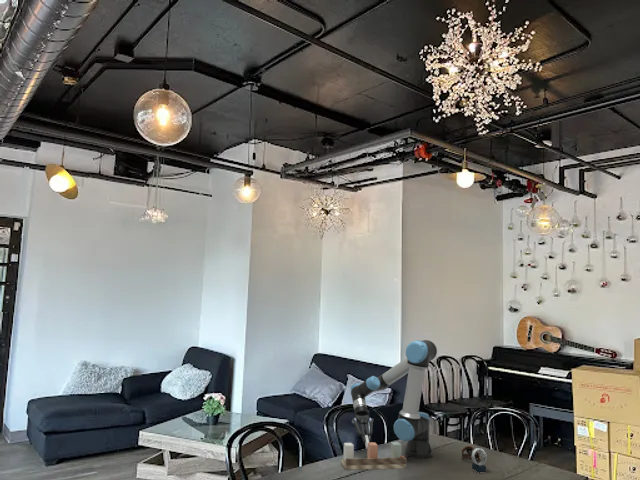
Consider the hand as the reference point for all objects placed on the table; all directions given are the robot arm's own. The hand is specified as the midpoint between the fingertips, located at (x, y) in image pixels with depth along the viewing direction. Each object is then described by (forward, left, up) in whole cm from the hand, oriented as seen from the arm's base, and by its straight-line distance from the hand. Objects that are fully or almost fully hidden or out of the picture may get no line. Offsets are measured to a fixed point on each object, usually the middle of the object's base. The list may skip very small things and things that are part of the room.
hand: (368, 447), depth 254 cm
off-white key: (+13, +8, -4) cm, 15 cm away
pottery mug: (-58, +3, -7) cm, 59 cm away
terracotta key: (0, +8, -4) cm, 9 cm away
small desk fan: (-53, +22, -7) cm, 58 cm away
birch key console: (0, +10, -6) cm, 11 cm away
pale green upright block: (-13, +8, -4) cm, 16 cm away
